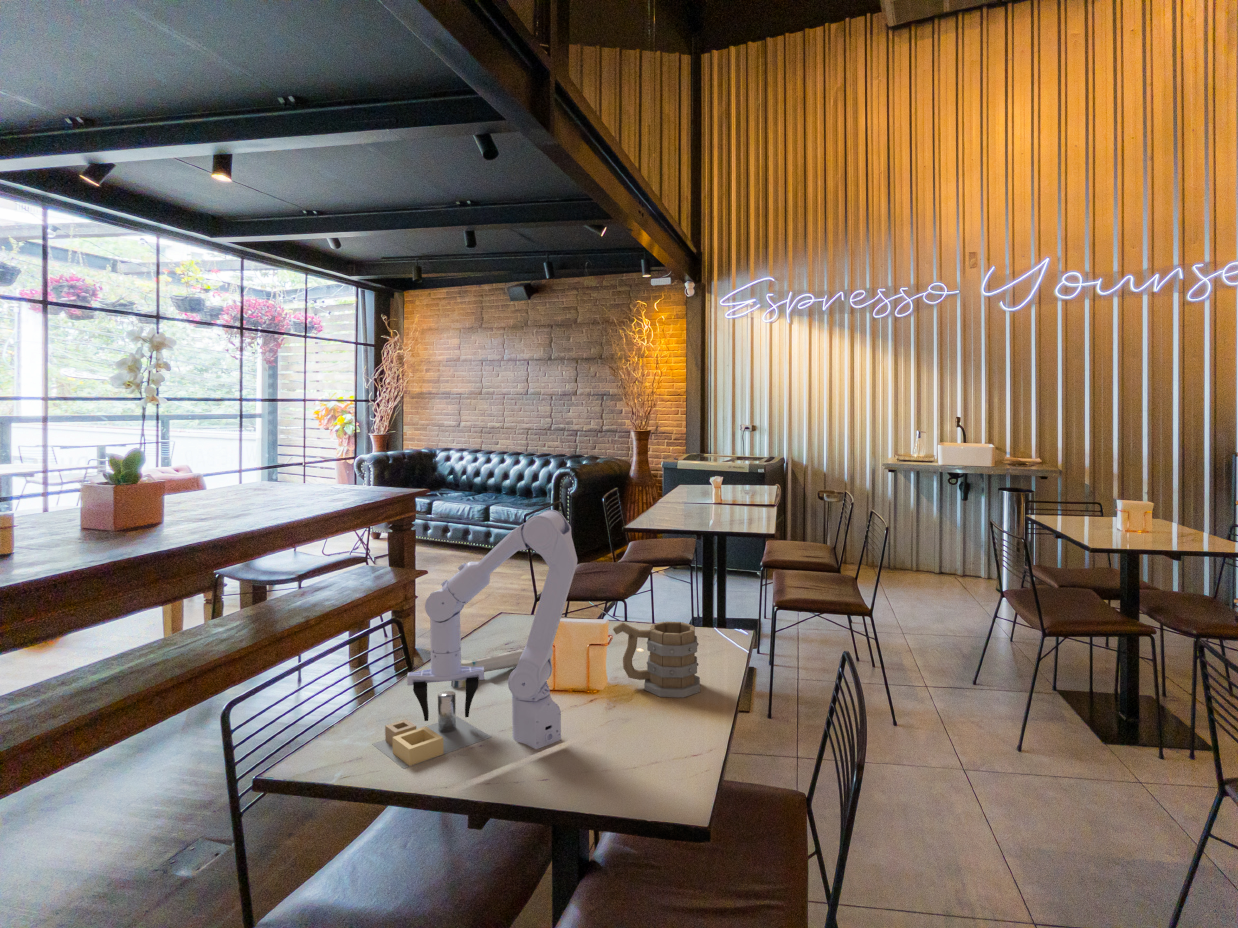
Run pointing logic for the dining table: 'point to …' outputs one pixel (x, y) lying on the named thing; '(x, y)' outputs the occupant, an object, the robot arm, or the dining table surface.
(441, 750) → the fitting board
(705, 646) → the dining table surface
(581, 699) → the dining table surface
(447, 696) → the metal round peg
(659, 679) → the tankard
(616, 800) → the dining table surface
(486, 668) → the toothbrush head
